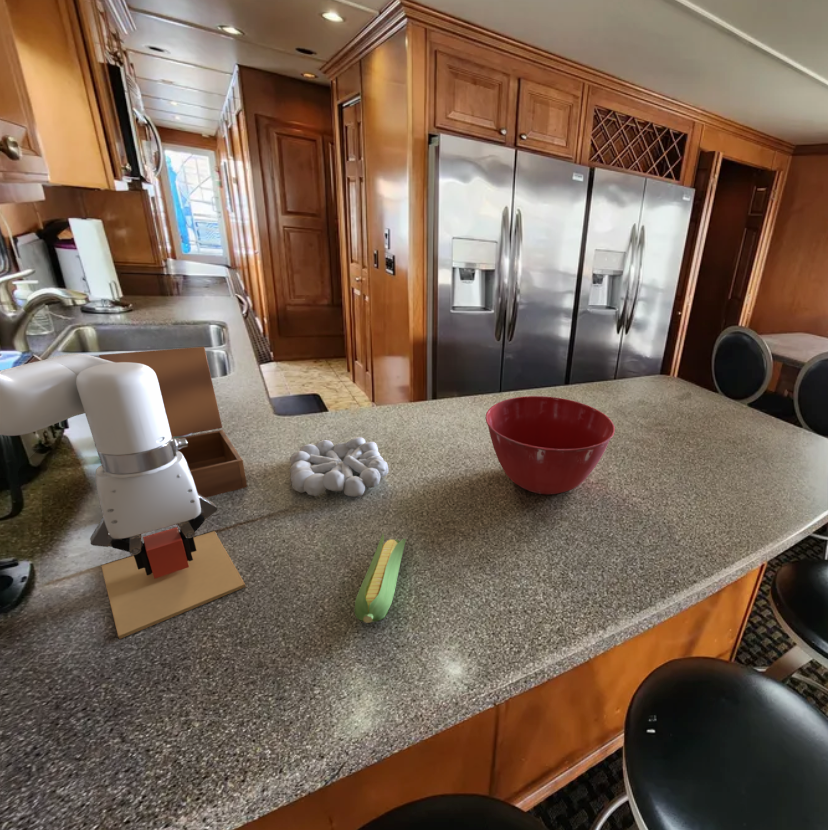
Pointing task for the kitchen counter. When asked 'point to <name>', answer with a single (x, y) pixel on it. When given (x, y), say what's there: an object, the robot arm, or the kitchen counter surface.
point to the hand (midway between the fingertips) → (168, 561)
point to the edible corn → (379, 582)
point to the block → (165, 552)
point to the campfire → (337, 467)
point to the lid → (181, 386)
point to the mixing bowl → (548, 441)
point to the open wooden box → (214, 463)
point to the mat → (169, 586)
